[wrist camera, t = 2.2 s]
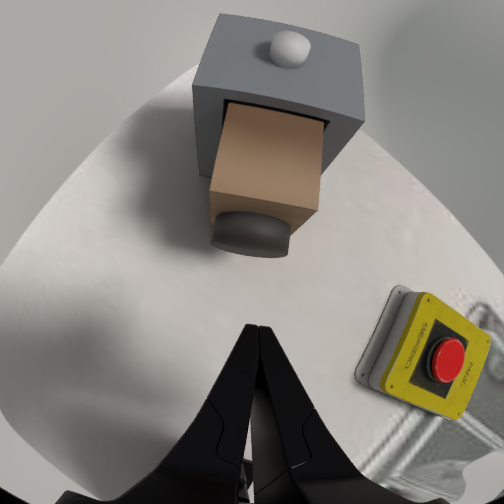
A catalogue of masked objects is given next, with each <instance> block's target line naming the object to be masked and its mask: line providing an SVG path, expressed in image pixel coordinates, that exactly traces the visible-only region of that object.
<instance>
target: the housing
mask: <svg viewBox="0 0 504 504" xmlns="http://www.w3.org/2000/svg"><path fill="white" fill-rule="evenodd" d="M192 92H193V107H194V120H195V132H196V144H197V155H198V166H199V175H201V176H208V177H212V175H213V171H214V166H215V161H216V157H217V152H218V148H219V143H220V139H221V135H222V130H223V126H224V122H225V118H226V113H227V109H228V105H229V103H235V104H241V105H247V106H252V107H258V108H263V109H268V110H273V111H278V112H283V113H287V114H292V115H296V116H300V117H305V118H309V119H313V120H317V121H321V122H324V129H323V147H322V164H321V175H322V173H323V172H324V171H325V170H326V169H327V167H328V166H329V165H330V164H331V162H332V161H333V160H334V159H335V158H336V156H337V155H338V154H339V153H340V151H341V150H342V149H343V148H344V147H345V145H346V144H347V143H348V142H349V140H350V139H351V138H352V137H353V135H354V134H355V133H356V132H357V131H358V129H359V128H360V127H361V126H362V124H363V123H364V122H365V110H364V93H363V79H362V68H361V57H360V48H359V44H356V43H353V42H350V41H347V40H343V39H341V38H338V37H334V36H331V35H327V34H324V33H320V32H317V31H313V30H309V29H305V28H301V27H297V26H293V25H288V24H283V23H279V22H273V21H268V20H263V19H257V18H251V17H244V16H237V15H228V14H219V16H218V18H217V21H216V23H215V26H214V28H213V30H212V33H211V35H210V38H209V40H208V43H207V45H206V48H205V51H204V54H203V56H202V59H201V61H200V64H199V66H198V69H197V72H196V75H195V78H194V80H193V83H192Z"/></svg>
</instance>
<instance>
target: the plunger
mask: <svg viewBox="0 0 504 504" xmlns="http://www.w3.org/2000/svg"><path fill="white" fill-rule="evenodd" d="M323 129H324V122H321V121H317V120H313V119H309V118H305V117H300V116H296V115H292V114H287V113H283V112H278V111H273V110H268V109H263V108H258V107H252V106H247V105H241V104H235V103H229V105H228V109H227V113H226V118H225V122H224V126H223V130H222V135H221V139H220V143H219V148H218V152H217V157H216V161H215V166H214V171H213V175H212V180H211V185H210V190H209V196H210V222H211V238H212V239H211V244H212V245H213V246H214V247H216V248H218V249H221V250H224V251H227V252H231V253H235V254H240V255H246V256H253V257H262V258H280V257H285V256H287V255H288V248H289V240H290V236H291V235H292V234H293V233H294V232H295V231H296V230H297V229H298V228H299V227H300V226H301V225H303V224H304V223H305V222H306V221H307V220H308V219H309V218H310V217H311V216H312V215H313V214H314V213H316V212H317V211H318V203H319V191H320V178H321V164H322V147H323Z"/></svg>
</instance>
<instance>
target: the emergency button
mask: <svg viewBox="0 0 504 504" xmlns="http://www.w3.org/2000/svg"><path fill="white" fill-rule="evenodd" d="M490 344H491V338H490V336H489V335H488V334H487V333H485V332H484V331H483V330H481V329H480V328H479V327H477V326H476V325H475V324H473V323H472V322H471V321H469V320H468V319H467V318H465V317H464V316H462V315H461V314H460V313H458V312H457V311H456V310H454V309H453V308H451V307H450V306H449V305H447V304H446V303H444V302H443V301H441V300H440V299H439V298H437V297H436V296H434V295H433V294H431V293H426V292H413V291H412V290H410V289H409V288H407V287H406V286H402V285H399V286H395V287H394V289H393V290H392V292H391V294H390V297H389V299H388V302H387V304H386V306H385V309H384V311H383V313H382V316H381V318H380V320H379V322H378V325H377V327H376V329H375V331H374V333H373V336H372V338H371V340H370V342H369V344H368V346H367V348H366V350H365V352H364V354H363V356H362V358H361V360H360V362H359V364H358V366H357V368H356V372H355V377H356V380H357V381H358V382H360V383H361V384H363V385H365V386H367V387H370V388H372V389H374V390H377V391H379V392H381V393H383V394H386V395H388V396H391V397H393V398H395V399H398V400H400V401H402V402H405V403H407V404H410V405H412V406H415V407H417V408H420V409H422V410H425V411H427V412H430V413H432V414H435V415H438V416H440V417H443V418H445V419H448V420H452V419H453V420H457V419H459V418H460V417H461V416H462V414H463V412H464V410H465V408H466V406H467V404H468V402H469V399H470V397H471V395H472V393H473V390H474V388H475V385H476V383H477V381H478V378H479V376H480V373H481V370H482V368H483V365H484V362H485V360H486V357H487V354H488V351H489V348H490Z"/></svg>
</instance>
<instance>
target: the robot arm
mask: <svg viewBox="0 0 504 504" xmlns="http://www.w3.org/2000/svg"><path fill="white" fill-rule="evenodd" d="M249 421H250V423H251V444H252V461H248V460H245V459H243V457H244V451H245V445H246V439H247V433H248V427H249ZM251 467H253V469H250V468H251ZM252 482H253V485H254V495H255V496H254V503H249V502H250V500H249V495H248V491H247V490H248V489H249V487H250V485H251V484H252ZM0 504H29V503H28V502H26V501H24V500H22V499H20V498H18V497H16V496H14V495H13V494H11V493H9V492H7V491H6V490H4V489H2V488H1V487H0ZM55 504H450V503H448V502H447V501H446V500H444V499H443V498H438V499H434V500H431V501H428V502H424V503H418V502H413V501H411V500H408V499H406V498H404V497H402V496H400V495H398V494H396V493H394V492H392V491H390V490H388V489H386V488H384V487H382V486H380V485H378V484H376V483H375V482H373V481H371V480H369V479H368V478H366V477H365V476H364V475H363V474H361V473H360V472H359V471H358V470H357V468H356V467H355V466H354V465H353V463H352V462H351V461H350V459H349V458H348V457H347V455H346V454H345V453H344V451H343V450H342V449H341V447H340V446H339V445H338V443H337V442H336V441H335V439H334V438H333V436H332V435H331V434H330V432H329V431H328V429H327V428H326V426H325V424H324V423H323V421H322V419H321V418H320V416H319V414H318V412H317V410H316V409H314V405H313V403H312V402H311V400H310V398H309V396H308V394H307V393H306V391H305V389H304V387H303V385H302V383H301V382H300V380H299V378H298V376H297V374H296V373H295V371H294V369H293V367H292V365H291V363H290V362H289V360H288V358H287V356H286V354H285V352H284V351H283V349H282V347H281V345H280V343H279V341H278V339H277V338H276V336H275V334H274V332H273V330H272V328H271V327H268V326H257V325H253V324H246V325H245V326H244V328H243V330H242V332H241V334H240V336H239V338H238V340H237V342H236V344H235V346H234V347H233V349H232V351H231V353H230V355H229V357H228V359H227V361H226V363H225V365H224V366H223V368H222V370H221V372H220V374H219V376H218V378H217V380H216V382H215V383H214V385H213V387H212V389H211V391H210V393H209V395H208V396H207V399H206V400H205V402H204V404H203V405H202V407H201V409H200V411H199V412H198V414H197V416H196V417H195V419H194V421H193V422H192V423H191V425H190V426H189V427H188V429H187V430H186V432H185V433H184V434H183V435H182V437H181V438H180V439H179V441H178V442H177V443H176V444H175V446H174V447H173V448H172V449H171V451H170V452H169V453H168V454H167V455H166V457H165V458H164V459H163V460H162V461H161V462H160V464H159V465H158V466H157V467H156V468H155V469H154V470H153V471H152V472H150V473H149V474H148V475H147V476H146V477H144V478H143V479H142V480H141V481H139V482H138V483H137V484H135V485H134V486H133V487H132V488H130V489H129V490H128V491H126V492H125V493H124V494H122V495H121V496H120V497H118V498H116V499H115V500H111V501H100V500H96V499H93V498H90V497H87V496H84V495H82V494H79V493H75V492H72V491H69V490H67V491H65V492H64V493H63V495H62V496H61V497H60V498H59V499H58V501H57V502H56V503H55ZM486 504H504V495H502V496H500V497H498V498H496V499H494V500H492V501H490V502H488V503H486Z"/></svg>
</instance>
